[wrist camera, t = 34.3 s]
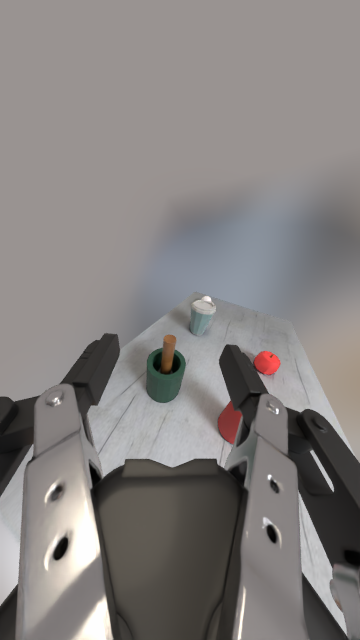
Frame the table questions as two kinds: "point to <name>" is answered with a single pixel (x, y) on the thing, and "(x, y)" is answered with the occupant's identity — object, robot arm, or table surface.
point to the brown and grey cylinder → (167, 354)
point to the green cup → (164, 377)
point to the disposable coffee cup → (201, 315)
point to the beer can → (229, 423)
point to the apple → (267, 362)
